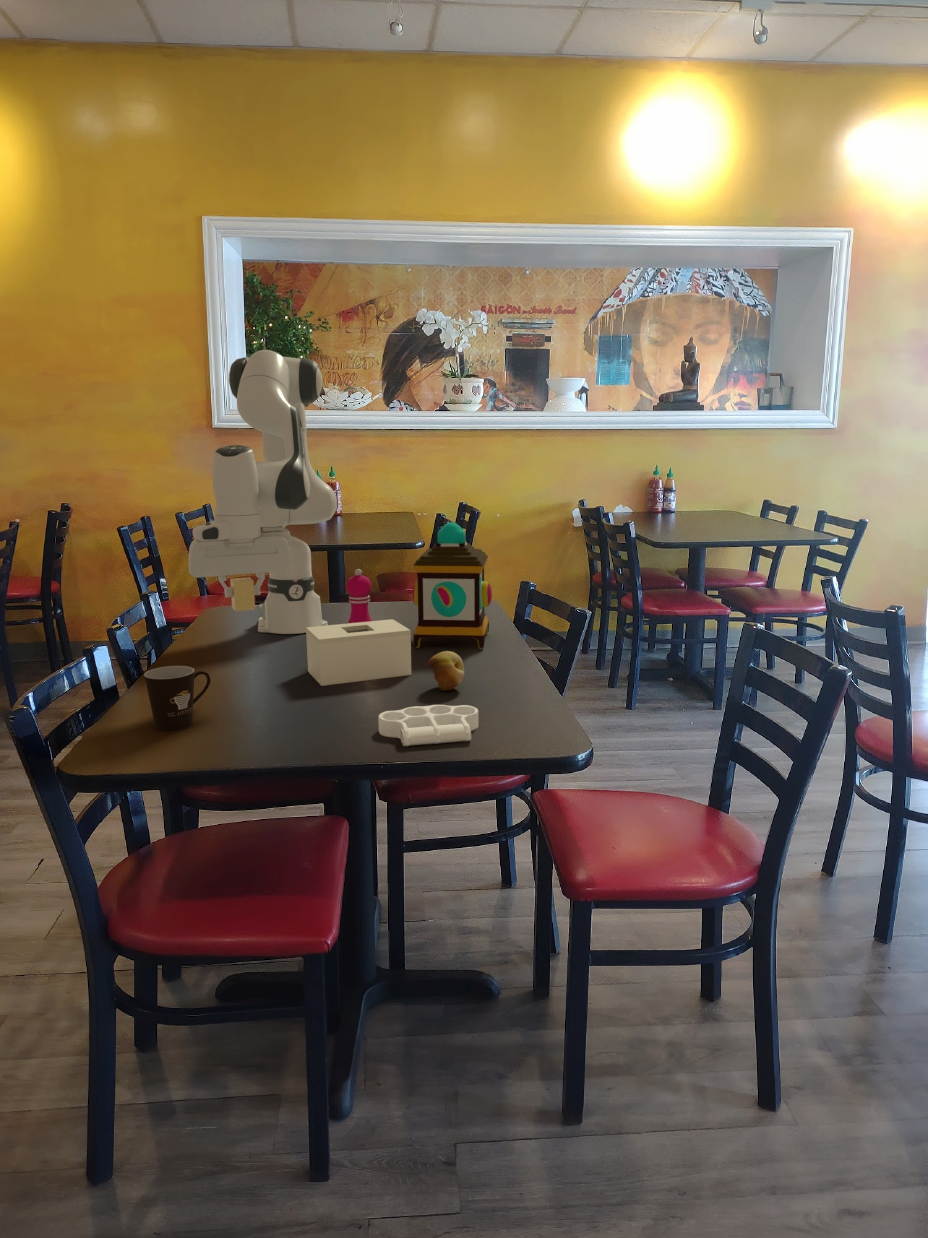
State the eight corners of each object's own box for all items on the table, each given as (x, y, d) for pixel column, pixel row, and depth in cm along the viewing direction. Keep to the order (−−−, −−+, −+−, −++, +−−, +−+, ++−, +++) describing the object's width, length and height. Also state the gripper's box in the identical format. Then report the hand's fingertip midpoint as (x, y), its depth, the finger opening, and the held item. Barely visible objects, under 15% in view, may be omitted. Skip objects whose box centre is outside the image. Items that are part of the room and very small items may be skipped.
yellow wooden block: (232, 607, 177) (230, 578, 176) (251, 605, 179) (250, 577, 177) (235, 611, 174) (233, 582, 172) (255, 609, 175) (253, 580, 174)
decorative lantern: (494, 632, 226) (494, 518, 219) (489, 651, 207) (489, 526, 200) (419, 631, 228) (417, 517, 221) (407, 649, 209) (404, 526, 202)
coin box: (308, 671, 190) (306, 627, 188) (393, 661, 198) (392, 619, 196) (321, 685, 180) (319, 639, 177) (411, 674, 187) (410, 630, 185)
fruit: (440, 697, 171) (440, 658, 170) (420, 687, 178) (419, 650, 176) (472, 691, 175) (472, 653, 173) (451, 681, 182) (451, 645, 180)
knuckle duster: (385, 753, 143) (375, 724, 157) (489, 743, 147) (470, 716, 161) (384, 733, 143) (374, 706, 157) (489, 725, 146) (470, 699, 160)
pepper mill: (370, 654, 204) (368, 571, 200) (341, 653, 205) (338, 571, 201) (379, 647, 211) (377, 566, 207) (351, 646, 212) (348, 566, 208)
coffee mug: (150, 736, 151) (145, 681, 148) (147, 721, 158) (142, 669, 156) (218, 726, 155) (214, 673, 153) (212, 712, 163) (208, 661, 161)
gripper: (286, 523, 179) (290, 589, 182) (184, 529, 171) (189, 597, 174) (293, 527, 174) (296, 594, 177) (187, 532, 166) (193, 602, 169)
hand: (242, 595), depth 176 cm, fingers closed on yellow wooden block, 4 cm apart
